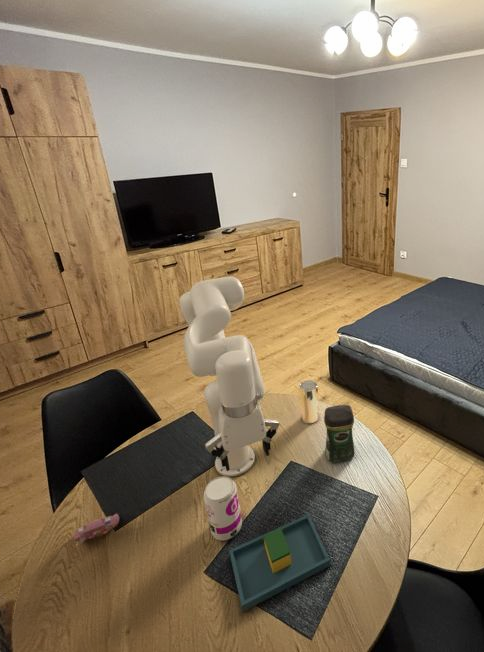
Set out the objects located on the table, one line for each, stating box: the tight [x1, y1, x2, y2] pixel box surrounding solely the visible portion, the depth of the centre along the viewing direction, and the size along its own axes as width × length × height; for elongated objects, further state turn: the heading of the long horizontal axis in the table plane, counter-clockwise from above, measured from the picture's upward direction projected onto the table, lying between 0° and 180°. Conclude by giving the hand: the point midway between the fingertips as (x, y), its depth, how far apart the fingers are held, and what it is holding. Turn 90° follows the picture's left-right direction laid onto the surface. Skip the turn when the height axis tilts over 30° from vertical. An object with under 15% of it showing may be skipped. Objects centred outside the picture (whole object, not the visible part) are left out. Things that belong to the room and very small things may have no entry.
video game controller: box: [73, 513, 120, 543], centre depth 97 cm, size 10×5×7 cm, turn 118°
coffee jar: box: [323, 404, 355, 463], centre depth 120 cm, size 10×8×19 cm
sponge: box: [263, 527, 291, 573], centre depth 91 cm, size 7×5×5 cm, turn 26°
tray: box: [228, 514, 331, 613], centre depth 91 cm, size 14×22×2 cm, turn 117°
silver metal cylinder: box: [298, 379, 319, 424], centre depth 137 cm, size 7×7×15 cm
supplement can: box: [203, 475, 243, 542], centre depth 97 cm, size 8×8×15 cm
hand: (247, 459), depth 89 cm, fingers open, 9 cm apart
